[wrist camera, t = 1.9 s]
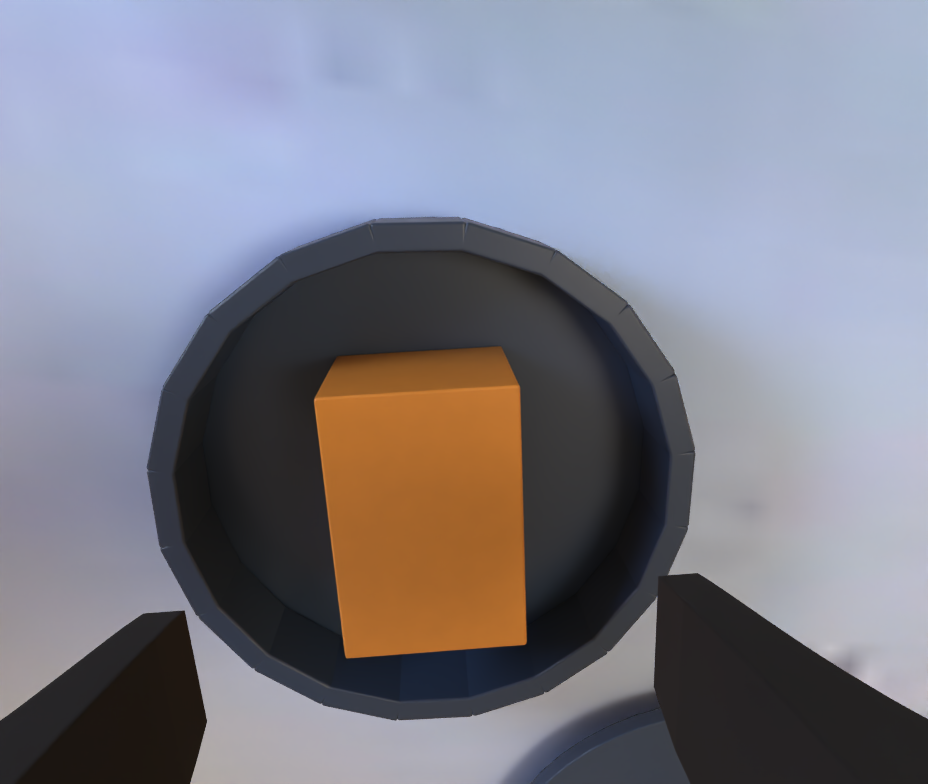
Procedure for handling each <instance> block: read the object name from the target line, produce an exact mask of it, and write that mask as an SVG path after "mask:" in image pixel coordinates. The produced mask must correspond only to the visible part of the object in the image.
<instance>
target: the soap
mask: <svg viewBox="0 0 928 784" xmlns="http://www.w3.org/2000/svg"><path fill="white" fill-rule="evenodd" d="M314 405H315V414H316V422H317V430H318V438H319V446H320V455H321V463H322V471H323V479H324V487H325V496H326V504H327V512H328V520H329V528H330V537H331V545H332V553H333V561H334V569H335V577H336V586H337V594H338V602H339V610H340V618H341V627H342V635H343V643H344V651H345V656H346V658H360V657H373V656H386V655H399V654H412V653H425V652H439V651H452V650H465V649H478V648H491V647H504V646H517V645H525V644H526V643H527V628H526V591H525V553H524V516H523V478H522V440H521V403H520V386H519V384H518V382H517V380H516V377H515V375H514V373H513V371H512V369H511V367H510V364H509V362H508V360H507V358H506V356H505V354H504V351H503V349H502V347H500V346H495V347H479V348H462V349H446V350H429V351H413V352H397V353H380V354H364V355H348V356H338V357H336V359H335V361H334V363H333V365H332V366H331V368H330V370H329V372H328V374H327V376H326V378H325V380H324V381H323V383H322V385H321V387H320V389H319V391H318V393H317V394H316V396H315V398H314Z"/></svg>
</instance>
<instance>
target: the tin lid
mask: <svg viewBox="0 0 928 784" xmlns="http://www.w3.org/2000/svg"><path fill="white" fill-rule="evenodd" d="M531 784H690V782H689V780H688V777H687V775H686V773H685V771H684V769H683V767H682V764H681V762H680V760H679V758H678V756H677V753H676V751H675V748H674V746H673V743H672V740H671V737H670V734H669V731H668V728H667V725H666V722H665V719H664V716H663V713H662V710H661V708H660V709H656V710H652V711H649V712H645V713H642V714H638V715H635V716H633V717H630V718H628V719H625V720H623V721H620V722H618V723H615V724H612V725H610V726H608V727H606V728H604V729H602V730H600V731H599V732H597V733H595V734H593V735H591V736H589V737H587V738H585V739H584V740H582V741H581V742H579V743H578V744H576V745H575V746H573V747H572V748H570V749H569V750H567V751H566V752H564V753H563V754H561V755H560V756H559V757H558V758H557V759H556V760H554V761H553V762H552V763H551V764H550V765H549V766H547V767H546V768H545V769H544V770H543V771H542V772H541V773H540V774H539V775H538V776H537V777H536V778H535V779H534V780H533V781H532V782H531Z"/></svg>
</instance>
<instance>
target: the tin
mask: <svg viewBox="0 0 928 784" xmlns="http://www.w3.org/2000/svg"><path fill="white" fill-rule="evenodd" d="M495 346H500V347H502V349H503V351H504V354H505V356H506V358H507V360H508V362H509V364H510V367H511V369H512V371H513V373H514V375H515V377H516V380H517V382H518V384H519V386H520V403H521V440H522V478H523V516H524V553H525V591H526V628H527V643H526V644H525V645H517V646H504V647H491V648H478V649H465V650H452V651H439V652H425V653H412V654H399V655H386V656H373V657H360V658H346V656H345V651H344V643H343V635H342V627H341V618H340V610H339V602H338V594H337V586H336V577H335V569H334V561H333V553H332V545H331V537H330V528H329V520H328V512H327V504H326V496H325V487H324V479H323V471H322V463H321V455H320V446H319V438H318V430H317V422H316V414H315V405H314V398H315V396H316V394H317V393H318V391H319V389H320V387H321V385H322V383H323V381H324V380H325V378H326V376H327V374H328V372H329V370H330V368H331V366H332V365H333V363H334V361H335V359H336V357H338V356H348V355H364V354H380V353H397V352H413V351H429V350H446V349H462V348H479V347H495ZM694 450H695V447H694V443H693V439H692V435H691V431H690V427H689V423H688V419H687V415H686V411H685V407H684V403H683V399H682V395H681V391H680V387H679V383H678V380H677V376H676V375H675V374H674V369H673V368H672V366H671V365H670V363H669V362H668V361H667V359H666V358H665V356H664V355H663V353H662V352H661V350H660V349H659V347H658V346H657V344H656V343H655V341H654V340H653V338H652V337H651V335H650V334H649V332H648V331H647V329H646V328H645V326H644V325H643V324H642V322H641V321H640V319H639V318H638V316H637V315H636V313H635V312H634V310H633V309H632V307H631V306H630V305H629V304H628V303H627V301H625V300H624V299H623V298H621V297H620V296H619V295H617V294H616V293H615V292H613V291H612V290H611V289H609V288H608V287H607V286H605V285H604V284H602V283H601V282H600V281H598V280H597V279H596V278H594V277H593V276H592V275H590V274H589V273H588V272H586V271H585V270H584V269H582V268H581V267H579V266H578V265H577V264H575V263H574V262H573V261H571V260H570V259H569V258H567V257H566V256H565V255H563V254H562V253H561V252H559V251H557V250H555V249H553V248H551V247H549V246H547V245H545V244H543V243H541V242H539V241H536V240H533V239H530V238H526V237H523V236H520V235H517V234H514V233H511V232H508V231H505V230H502V229H500V228H496V227H492V226H489V225H485V224H482V223H479V222H476V221H473V220H470V219H466V218H462V219H461V218H459V217H416V218H381V219H378V220H376V219H374V220H371V221H368V222H365V223H363V224H360V225H357V226H354V227H351V228H349V229H346V230H343V231H340V232H337V233H334V234H331V235H329V236H326V237H323V238H321V239H318V240H315V241H312V242H309V243H307V244H304V245H301V246H298V247H296V248H294V249H292V250H290V251H288V252H285V253H283V254H281V255H280V256H278V257H276V258H275V259H274V260H273V261H271V262H270V263H269V264H268V265H266V266H265V267H264V268H263V269H261V270H260V271H259V272H258V273H256V274H255V275H254V276H253V277H251V278H250V279H249V280H248V281H247V282H245V283H244V284H243V285H242V286H240V287H239V288H238V289H237V290H235V291H234V292H233V293H232V294H230V295H229V296H228V297H227V298H225V299H224V300H223V301H222V302H220V303H219V304H218V305H217V306H216V307H214V308H213V309H212V310H211V311H210V312H209V314H207V315H206V316H205V318H204V319H203V321H202V323H201V324H200V326H199V328H198V329H197V331H196V333H195V334H194V336H193V337H192V339H191V341H190V342H189V344H188V346H187V347H186V349H185V351H184V352H183V354H182V356H181V357H180V359H179V361H178V362H177V364H176V366H175V367H174V369H173V370H172V372H171V374H170V375H169V377H168V379H167V380H166V382H165V384H164V385H163V389H162V391H161V396H160V401H159V406H158V412H157V417H156V422H155V427H154V433H153V438H152V443H151V449H150V454H149V459H148V464H147V469H148V472H147V474H148V480H149V486H150V492H151V498H152V504H153V510H154V515H155V521H156V527H157V533H158V539H159V545H160V547H161V552H162V554H163V555H164V557H165V559H166V561H167V563H168V565H169V566H170V568H171V570H172V572H173V574H174V575H175V577H176V579H177V581H178V583H179V585H180V586H181V588H182V590H183V592H184V594H185V596H186V597H187V599H188V601H189V603H190V605H191V606H192V608H193V610H194V612H195V614H196V615H197V616H199V619H200V620H201V621H203V622H204V623H205V624H206V625H207V626H208V627H209V628H210V629H211V630H212V631H213V632H214V633H215V634H216V635H217V636H218V637H219V638H220V639H222V640H223V641H224V642H225V643H226V644H227V645H228V646H229V647H230V648H231V649H232V650H233V651H234V652H235V653H236V654H237V655H238V656H239V657H240V658H242V659H243V660H244V661H245V662H246V663H247V664H248V665H249V666H250V667H251V668H255V671H257V672H259V673H261V674H263V675H265V676H267V677H269V678H271V679H272V680H274V681H276V682H278V683H280V684H282V685H284V686H286V687H288V688H290V689H292V690H294V691H296V692H298V693H300V694H302V695H304V696H306V697H308V698H310V699H312V700H314V701H316V702H317V703H320V704H321V703H322V705H324V706H328V707H333V708H338V709H343V710H347V711H352V712H357V713H362V714H367V715H371V716H376V717H381V718H386V719H391V720H397V719H398V720H413V719H433V718H452V717H470V716H472V714H473V715H474V716H476V715H479V714H482V713H485V712H489V711H492V710H495V709H498V708H501V707H504V706H507V705H511V704H514V703H517V702H520V701H523V700H526V699H529V698H533V697H536V696H539V695H542V694H544V692H548V691H550V690H551V689H553V688H555V687H556V686H558V685H559V684H561V683H562V682H564V681H565V680H567V679H569V678H570V677H572V676H573V675H575V674H576V673H578V672H579V671H581V670H582V669H584V668H586V667H587V666H589V665H590V664H592V663H593V662H595V661H596V660H598V659H600V658H601V657H603V656H604V655H606V654H607V651H610V650H611V649H612V648H613V647H614V646H615V645H616V644H617V642H618V641H619V640H620V639H621V638H622V637H623V636H624V634H625V633H626V632H627V631H628V630H629V629H630V628H631V626H632V625H633V624H634V623H635V622H636V621H637V620H638V618H639V617H640V616H641V615H642V614H643V613H644V612H645V610H646V609H647V608H648V607H649V606H650V605H651V604H652V602H653V601H654V600H655V599H656V597H657V596H658V576H667V575H668V573H669V571H670V568H671V566H672V564H673V562H674V559H675V557H676V555H677V553H678V550H679V548H680V546H681V544H682V541H683V539H684V537H685V535H686V532H687V530H688V527H687V526H688V525H689V515H690V504H691V493H692V482H693V471H694V460H695V451H694Z"/></svg>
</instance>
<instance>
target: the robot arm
mask: <svg viewBox="0 0 928 784" xmlns="http://www.w3.org/2000/svg"><path fill="white" fill-rule="evenodd" d="M654 688H655V691H656V695H657V698H658V701H659V704H660V707H661V710H662V713H663V716H664V719H665V722H666V725H667V728H668V731H669V734H670V737H671V740H672V743H673V746H674V748H675V751H676V753H677V756H678V758H679V760H680V762H681V764H682V767H683V769H684V771H685V773H686V775H687V777H688V780H689V782H690V784H928V719H927V718H925V717H923V716H921V715H919V714H917V713H916V712H914V711H912V710H910V709H908V708H907V707H905V706H903V705H901V704H899V703H898V702H896V701H894V700H892V699H891V698H889V697H887V696H885V695H884V694H882V693H880V692H879V691H877V690H875V689H874V688H872V687H870V686H869V685H867V684H865V683H864V682H862V681H860V680H859V679H857V678H855V677H854V676H852V675H850V674H849V673H847V672H845V671H844V670H842V669H841V668H839V667H837V666H836V665H834V664H833V663H831V662H829V661H828V660H826V659H825V658H823V657H822V656H820V655H818V654H817V653H815V652H814V651H812V650H811V649H809V648H808V647H806V646H805V645H803V644H802V643H800V642H799V641H797V640H796V639H794V638H793V637H791V636H790V635H788V634H787V633H785V632H784V631H782V630H781V629H779V628H778V627H776V626H775V625H773V624H772V623H770V622H769V621H768V620H766V619H765V618H763V617H762V616H760V615H759V614H757V613H756V612H755V611H753V610H752V609H750V608H749V607H747V606H746V605H744V604H743V603H742V602H740V601H739V600H737V599H736V598H734V597H733V596H731V595H730V594H729V593H727V592H726V591H724V590H723V589H721V588H720V587H718V586H717V585H715V584H714V583H712V582H711V581H709V580H708V579H706V578H705V577H703V576H701V575H700V574H698V573H695V574H681V575H668V576H658V599H657V623H656V647H655V671H654ZM206 723H207V719H206V714H205V709H204V704H203V699H202V694H201V689H200V684H199V679H198V675H197V670H196V665H195V660H194V655H193V650H192V645H191V640H190V635H189V630H188V625H187V620H186V615H185V611H173V612H159V613H145V614H142V615H141V616H139V617H138V618H136V619H135V620H133V621H132V622H130V623H129V624H128V625H126V626H125V627H123V628H122V629H121V630H119V631H118V632H117V633H115V634H114V635H113V636H111V637H110V638H109V639H107V640H106V641H105V642H103V643H102V644H101V645H100V646H98V647H97V648H96V649H94V650H93V651H92V652H90V653H89V654H88V655H87V656H85V657H84V658H83V659H81V660H80V661H79V662H78V663H76V664H75V665H74V666H72V667H71V668H70V669H68V670H67V671H66V672H64V673H63V674H62V675H61V676H59V677H58V678H57V679H55V680H54V681H53V682H51V683H50V684H49V685H47V686H46V687H45V688H44V689H42V690H41V691H40V692H38V693H37V694H36V695H34V696H33V697H32V698H30V699H29V700H28V701H27V702H25V703H24V704H23V705H21V706H20V707H19V708H17V709H16V710H15V711H13V712H12V713H10V714H9V715H8V716H6V717H5V718H3V719H2V720H1V721H0V784H190V782H191V778H192V775H193V771H194V768H195V765H196V761H197V758H198V754H199V750H200V746H201V742H202V739H203V735H204V731H205V727H206Z"/></svg>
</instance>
